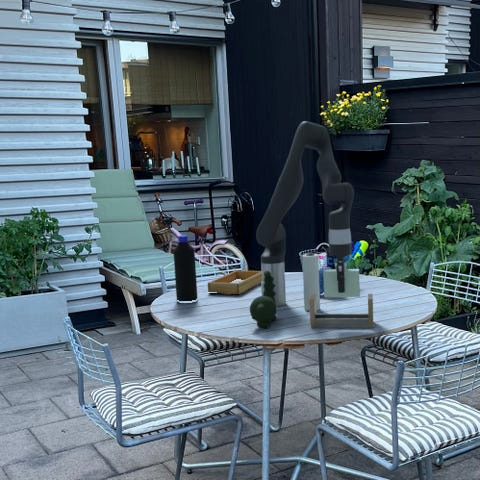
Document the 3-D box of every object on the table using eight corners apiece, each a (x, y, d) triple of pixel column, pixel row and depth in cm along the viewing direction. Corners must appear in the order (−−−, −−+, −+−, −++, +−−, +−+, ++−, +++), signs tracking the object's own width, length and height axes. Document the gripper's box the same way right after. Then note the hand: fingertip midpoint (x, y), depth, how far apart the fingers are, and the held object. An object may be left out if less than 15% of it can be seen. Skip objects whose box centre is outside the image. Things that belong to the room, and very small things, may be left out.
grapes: (341, 292, 264) (340, 265, 262) (340, 296, 257) (339, 268, 256) (313, 292, 266) (312, 265, 265) (312, 296, 260) (311, 268, 258)
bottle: (194, 304, 258) (190, 237, 254) (174, 304, 260) (169, 237, 256) (200, 298, 266) (196, 234, 262) (180, 299, 268) (176, 234, 264)
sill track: (310, 327, 214) (309, 299, 213) (312, 321, 222) (311, 294, 220) (373, 328, 210) (372, 299, 208) (373, 321, 217) (372, 293, 216)
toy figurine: (258, 319, 235) (246, 332, 211) (256, 269, 234) (244, 276, 210) (283, 319, 234) (274, 332, 209) (281, 269, 233) (272, 276, 208)
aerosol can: (326, 283, 284) (325, 240, 282) (345, 282, 283) (343, 239, 280) (326, 287, 276) (325, 242, 274) (345, 286, 275) (344, 242, 272)
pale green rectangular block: (324, 297, 214) (323, 271, 213) (324, 294, 217) (323, 269, 216) (359, 296, 212) (358, 270, 210) (359, 294, 215) (359, 268, 214)
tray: (236, 281, 302) (235, 269, 302) (265, 282, 296) (264, 270, 296) (208, 295, 275) (207, 282, 274) (239, 296, 269) (238, 283, 268)
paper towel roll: (318, 311, 235) (316, 255, 232) (302, 311, 237) (300, 255, 234) (322, 306, 242) (320, 252, 239) (307, 306, 244) (305, 252, 241)
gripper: (350, 244, 204) (352, 295, 207) (351, 238, 218) (353, 286, 220) (327, 245, 206) (329, 296, 208) (329, 239, 220) (331, 286, 222)
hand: (341, 290), depth 214 cm, fingers closed on pale green rectangular block, 3 cm apart
